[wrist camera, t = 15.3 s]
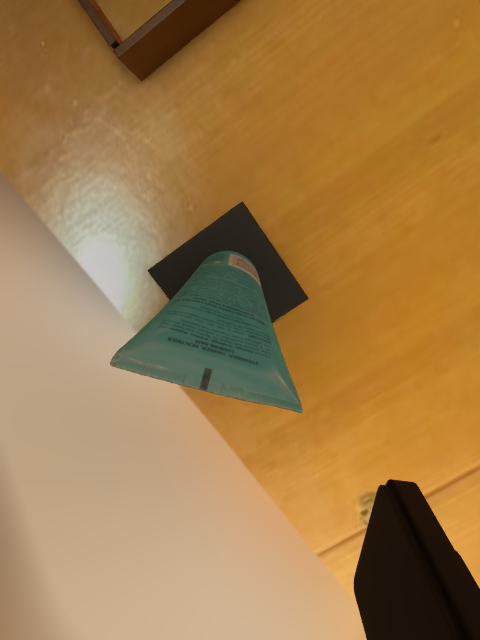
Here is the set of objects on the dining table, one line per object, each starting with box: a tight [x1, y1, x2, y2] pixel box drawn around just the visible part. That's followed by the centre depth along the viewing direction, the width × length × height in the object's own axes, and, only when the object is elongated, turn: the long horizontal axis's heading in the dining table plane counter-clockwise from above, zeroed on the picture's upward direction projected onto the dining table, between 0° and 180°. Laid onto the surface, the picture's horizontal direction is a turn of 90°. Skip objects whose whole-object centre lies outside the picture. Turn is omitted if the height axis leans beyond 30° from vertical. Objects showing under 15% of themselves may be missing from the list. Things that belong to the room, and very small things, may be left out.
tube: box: [110, 251, 303, 413], centre depth 26 cm, size 7×5×19 cm, turn 80°
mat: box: [148, 202, 308, 322], centre depth 36 cm, size 9×9×1 cm
